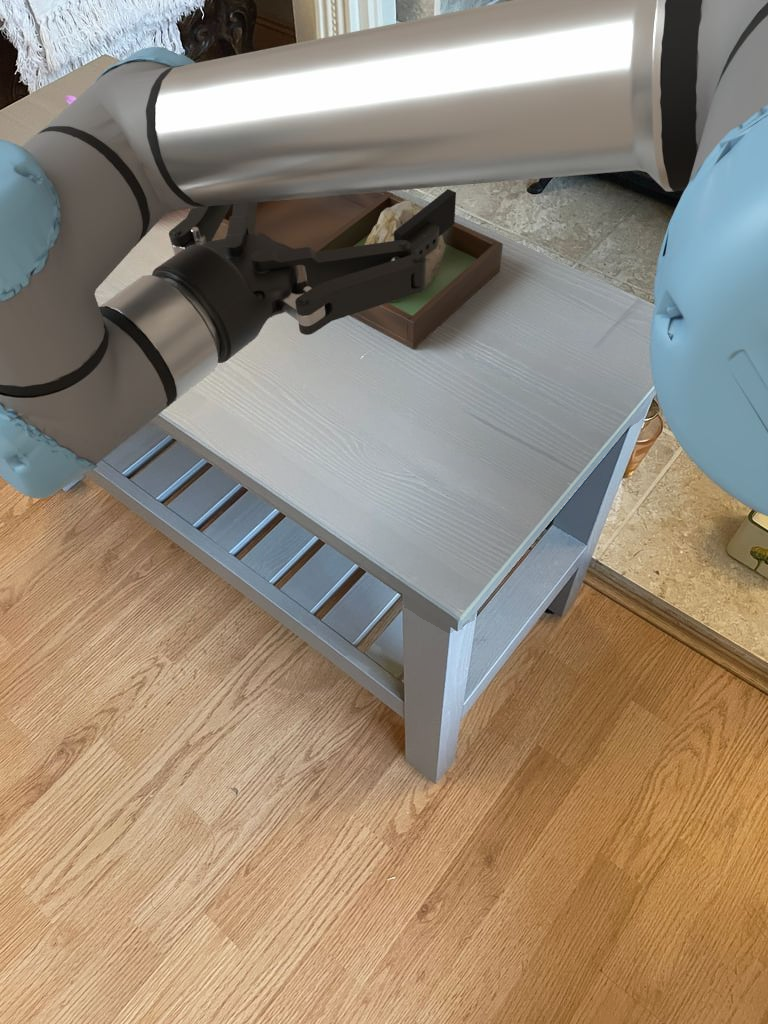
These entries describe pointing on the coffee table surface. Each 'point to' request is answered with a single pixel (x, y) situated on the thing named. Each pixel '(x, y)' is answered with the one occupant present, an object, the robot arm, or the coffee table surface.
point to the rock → (394, 220)
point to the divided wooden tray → (350, 225)
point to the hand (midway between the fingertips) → (382, 175)
